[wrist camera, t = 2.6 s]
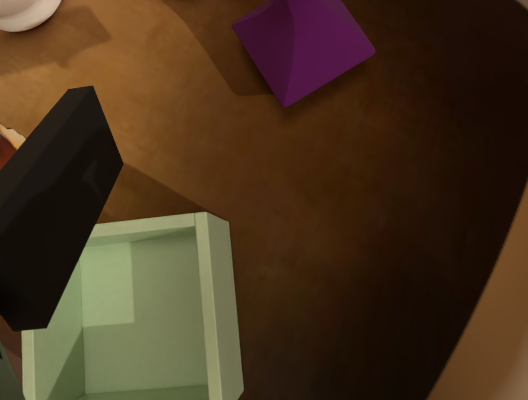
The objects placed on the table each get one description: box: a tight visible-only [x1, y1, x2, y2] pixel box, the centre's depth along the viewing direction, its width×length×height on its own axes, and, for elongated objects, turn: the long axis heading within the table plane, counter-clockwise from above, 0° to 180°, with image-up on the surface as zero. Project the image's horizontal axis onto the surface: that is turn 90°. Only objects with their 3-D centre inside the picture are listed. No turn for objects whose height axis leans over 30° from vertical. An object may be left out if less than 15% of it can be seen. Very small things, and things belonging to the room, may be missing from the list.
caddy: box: [22, 212, 244, 400], centre depth 31 cm, size 12×12×7 cm
